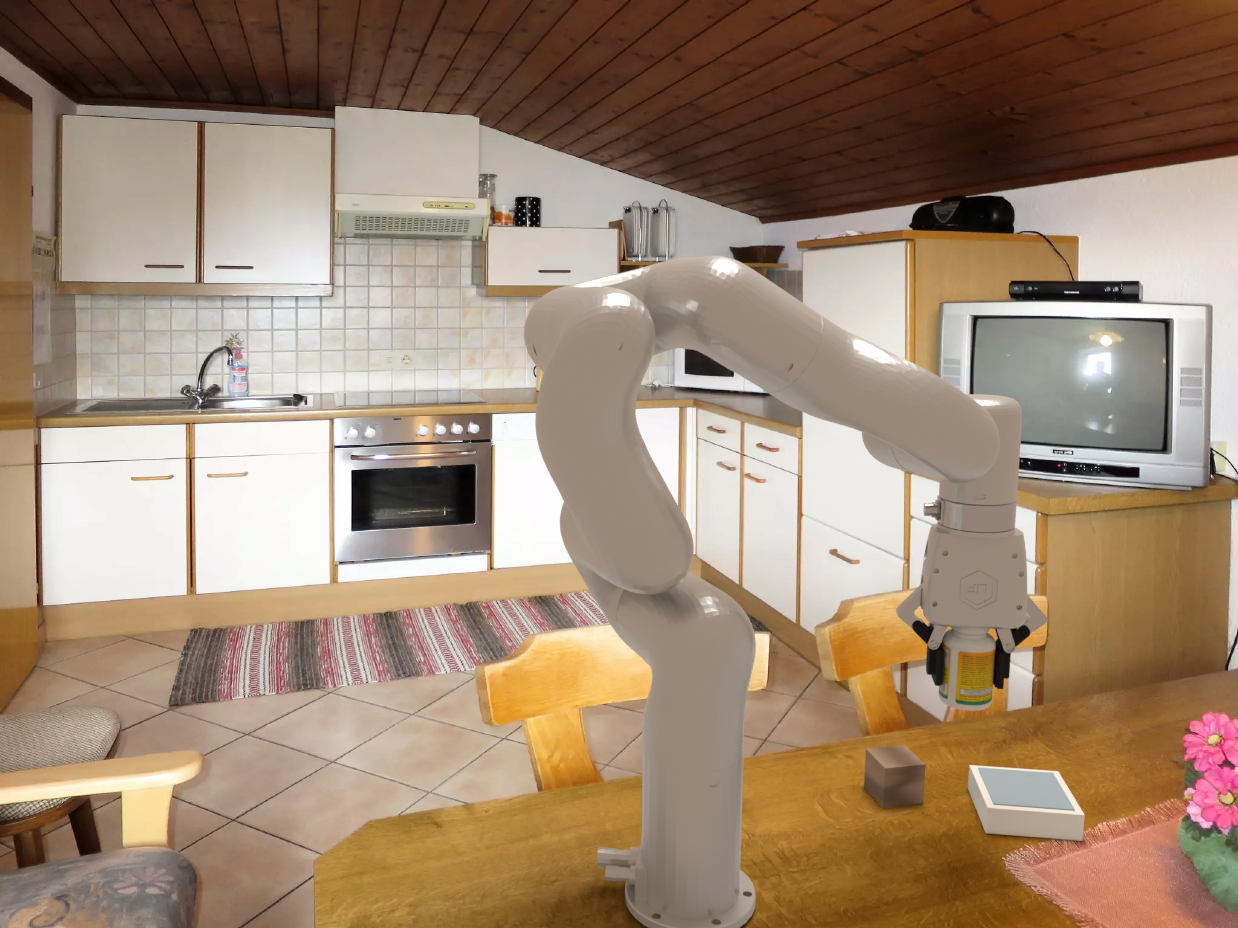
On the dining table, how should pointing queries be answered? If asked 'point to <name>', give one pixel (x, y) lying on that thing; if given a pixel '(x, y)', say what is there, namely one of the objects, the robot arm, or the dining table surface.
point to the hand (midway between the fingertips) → (966, 680)
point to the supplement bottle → (968, 668)
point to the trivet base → (1025, 803)
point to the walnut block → (894, 776)
